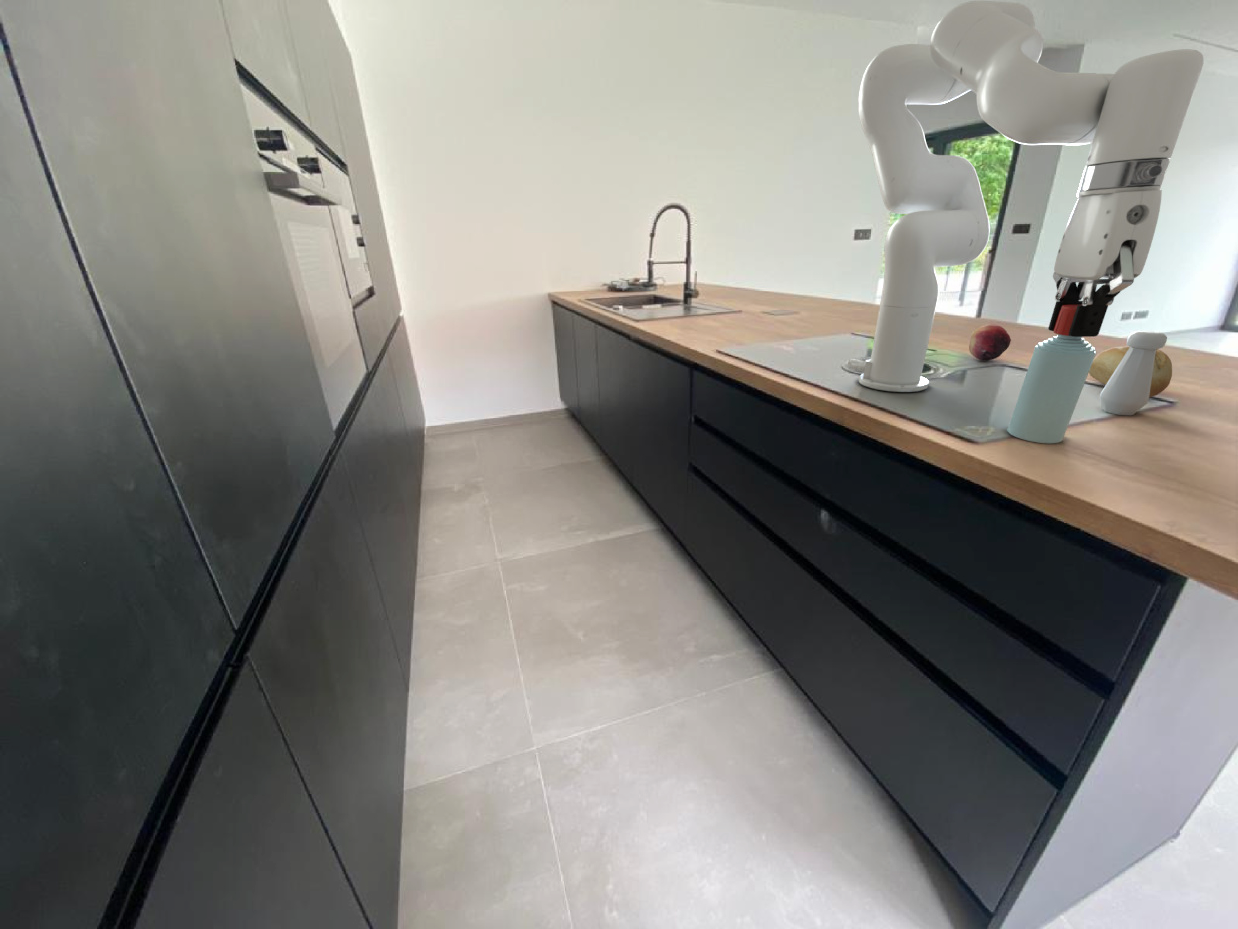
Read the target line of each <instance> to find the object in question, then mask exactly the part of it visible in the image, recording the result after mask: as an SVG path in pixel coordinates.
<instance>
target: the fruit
mask: <svg viewBox="0 0 1238 929" xmlns="http://www.w3.org/2000/svg"><path fill="white" fill-rule="evenodd" d="M1011 342H1012V339H1011V336H1010V334H1009V333H1008V331H1007V330H1006V329H1005V328H1004V327H1003V326H1001V325H998V324H985V325H982V326H980V327H978V328H976V329H975V330H973V331H972V332H971V335H970V339H969V344H968V350H969V353H970V354H971V355H972V356H973V357H974V358H975V359H977V360H980V361H982V362H983V361H984V362H988V361H992V360H995V359H998V358H999V357H1000V356H1002V355H1003V354H1004V352H1005V351H1007V350H1008V349H1009V347H1010V345H1011Z"/></svg>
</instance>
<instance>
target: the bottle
mask: <svg viewBox="0 0 1238 929" xmlns="http://www.w3.org/2000/svg"><path fill="white" fill-rule="evenodd" d="M1096 356H1097V350H1096V348H1095V347H1094V346H1093V345H1092V344H1091V343H1089V341H1087V340H1086V339H1085V337H1072V336H1065V335H1059V334H1057V335H1054V336H1053V337H1049V338H1048V339H1046V340H1043V341H1041V342H1038V344H1036V345H1035V346H1034V349H1033V352H1032V355H1031V358H1030V360H1029V361H1030V362H1029V364H1028V368H1027V370H1026V373H1025V377H1024V379H1023V383H1022V386H1021V389H1020V392H1019V395H1018V398H1017V400H1016V404H1015V406H1014V409H1013V413H1012V416H1011V418H1010V421H1009V424H1008V428H1007V432H1008V433H1009V435H1011V436H1012V437H1015V438H1017V439H1020V440H1024V441H1027V442H1031V443H1038V444H1059V443H1061V442H1062V441H1063V440H1064V437H1065V435H1066V432H1067V430H1068V427H1069V424H1070V422H1071V419H1072V416H1073V414H1074V411H1075V409H1076V407H1077V404H1078V401H1079V399H1080V396H1081V393H1082V391H1083V388H1084V386H1085V383H1086V381H1087V379H1088V376H1089V370H1090V368H1091V365H1092V363H1093V360H1094V358H1095V357H1096Z"/></svg>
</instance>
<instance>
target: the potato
mask: <svg viewBox="0 0 1238 929" xmlns="http://www.w3.org/2000/svg"><path fill="white" fill-rule="evenodd" d="M1129 348H1130V346H1127V345H1124V346H1118V347H1116V346H1115V347H1114V346H1113V347H1111V348H1108V349H1105V350H1102V351H1101V352H1099V353H1098V354H1096V355H1095V357H1094V360H1093V363H1092V365H1091V368H1090V370H1089V373H1088V375H1090V377H1091V378H1092V379H1095V380H1096V381H1098V382H1100V383H1102V384H1103V385H1104V386H1106V384H1107V382H1108V381H1109V379H1110V378H1111V376H1112V375H1113V373H1114V371H1115V370H1116V368H1117V367H1118V365H1119V363H1120V362H1121V360H1122V359H1123V357H1124V356H1125V354H1126V352H1127V351H1128V349H1129ZM1172 377H1173V363H1172V359H1171V358H1170V357H1169V355H1168V354H1166V353H1165V352H1163V351H1162V350H1160V349H1156V354H1155V360H1154V366H1153V373H1152V380H1151V387H1150V395H1149V398H1153V397H1156V396H1158V395H1160V394H1161V393H1162V392H1163V391H1165V390H1166V389H1167V388H1168V386H1169V385H1170V384H1171V380H1172Z"/></svg>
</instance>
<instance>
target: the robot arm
mask: <svg viewBox="0 0 1238 929" xmlns="http://www.w3.org/2000/svg"><path fill="white" fill-rule="evenodd" d="M1035 26H1036V23H1035V16H1034V14H1033V12H1032V10H1031V9H1030V8H1029V7H1028V6H1026V5H1025V4H1022V3H1019V2H1010V1H994V0H971V1H965V2H963V3H960V4H957V5H956V6H955V7H953V8H952V9H950V10H948V11H947V13H945V14H944V15H943V16H942V17H941V18H940V19H939V21H938V23H937V24H936V26H935V27H934V30H933V31H932V33H931V37H930V42H929V44H923V43H922V44H921V43H907V44H899V45H893V46H891V47H888V48H885V49H883V50H882V51H880V52H878V53H877V54H876V55H875V56H874V57H873V59H872V60H871V61H870V62H869V64H868V65H867V67H866V69H865V71H864V73H863V76H862V79H861V83H860V86H859V92H858V116H859V122H860V125H861V128H862V131H863V134H864V137H865V139H866V141H867V144H868V146H869V148H870V152H871V155H872V159H873V164H874V170H875V173H876V177H877V178H876V179H877V181H878V187H879V190H880V194H881V198H882V202H883V205H884V207H885V208H886V210H887V211H889V212H890V213H892V214H899V215H902V216H900V217H899V218H898V219H897V220H895V221H894V222H893V223H892V224H891V226H890V227H889V229H888V231H887V233H886V235H885V239H884V246H883V251H884V252H883V256H884V257H883V258H884V274H883V282H882V283H883V284H882V292H881V297H880V303H879V309H878V315H877V320H876V327H875V333H874V338H873V344H872V348H871V354H870V355H871V357H870V358H869V359H865V360H861V359H860V360H859V359H854V358H850V359H849V360H848V362H847V368H848V369H850V370H851V371H860V372H861V374H860V375H859V377H858V382H859V384H861V385H862V386H864V387H867V388H870V389H873V390H877V391H878V390H879V391H882V392H883V391H885V392H892V393H914V392H920V391H921V392H922V391H924V390H926V389H928V388H929V384H930V381H929V380H928V379H927V378H925V377H924V376H922V374H923V369H924V365H925V361H926V357H927V356H926V355H927V352H928V346H929V344H930V338H931V333H932V328H933V325H934V321H935V320H934V319H935V317H936V316H935V315H936V310H937V307H938V301H939V295H940V285H939V279H938V276H937V273H936V269H935V268H941V267H957V266H963V265H967V264H969V263H971V262H973V261H975V260H976V259H978V258H979V257H980V255H982V254H983V252H984V251H985V249H986V247H987V245H988V243H989V239H990V231H991V230H990V229H991V226H990V219H989V215H988V211H987V207H986V202H985V199H984V195H983V191H982V188H981V183H980V180H979V179H980V178H979V176H978V173H977V170H976V168H975V166H974V165H973V164H972V163H971V161H970V160H968V159H967V158H966V157H963V156H961V155H956V154H955V155H954V154H935V153H933V152H931V150H930V149H929V147H928V144H927V141H926V137H925V132H924V129H923V127H922V124H921V122H920V121H919V120H918V119H917V117H916V116H915V115H914V114H913V113H912V112H911V111H910V110H909V108H908V107H907V105H911V106H912V105H918V106H919V105H925V106H927V105H929V106H935V105H943V104H946V103H948V102H951V101H953V100H955V99H958V98H959V97H961V96H963V95H965V94H967V93H968V92H970V91H972V92H973V93H974V94H975V95H976V107H977V112H978V114H979V116H980V118H981V119H982V120H983V121H984V123H986V124H987V125H989V126H990V127H991V128H993V129H994V130H995V131H997V132H998V133H1000V135H1002V136H1004V137H1005V138H1007V139H1008V140H1010V141H1013V142H1014V143H1017V144H1021V145H1027V146H1041V145H1043V146H1044V145H1046V146H1047V145H1049V146H1050V145H1059V146H1082V145H1083V146H1084V145H1090V150H1089V153H1088V156H1087V160H1086V162H1085V163H1086V164H1085V166H1084V170H1083V173H1082V177H1081V179H1080V183H1079V187H1078V190H1077V193H1076V197H1077V198H1078V199H1077V201H1076V203H1075V205H1074V207H1073V210H1072V212H1071V214H1070V217H1069V219H1068V222H1067V224H1066V226H1065V227H1066V228H1065V230H1064V233H1063V235H1062V238H1061V242H1060V244H1059V248H1058V251H1057V255H1056V258H1055V262H1054V267H1053V274H1052V278H1053V280H1054V282H1055V286H1056V293H1055V295H1054V300H1055V304H1054V307H1053V311H1052V314H1051V317H1050V321H1049V324H1048V329H1047V330H1048V331H1050V332H1054V331H1053V330H1054V327H1055V324H1056V321H1057V318H1058V315H1059V312H1060V310H1061V308H1062V306H1063V305H1077V309H1076V312H1075V315H1074V318H1073V321H1072V324H1071V327H1070V331H1069V336H1072V337H1082V338H1086V337H1087V338H1088V337H1089V338H1091V337H1093V338H1094V337H1097V336H1099V334H1100V331H1101V329H1102V325H1103V322H1104V320H1105V317H1106V314H1107V310H1108V308H1109V306H1111V305H1112V304H1113V303H1114V300H1115V298H1116V297H1117V296H1118V295H1120V294H1121V292H1122V291H1124V290H1125V289H1127V288H1129V287H1130V286H1132V285H1134V284H1133V283H1134V282H1135V279H1137V278H1138V277H1139V276H1140V275H1141V274H1142V273H1143V271H1144V268H1145V265H1146V263H1147V259H1148V257H1149V253H1150V250H1151V247H1152V243H1153V240H1154V236H1155V233H1156V229H1157V224H1158V221H1159V216H1160V211H1161V204H1162V195H1163V194H1162V193H1163V190H1162V188H1161V187H1162V185H1163V182H1164V179H1165V176H1166V173H1167V171H1168V168H1169V165H1170V161H1171V158H1172V156H1173V154H1174V150H1175V148H1176V144H1177V142H1178V139H1179V136H1180V133H1181V130H1182V128H1183V125H1184V122H1185V119H1186V116H1187V113H1188V110H1189V108H1190V104H1191V102H1192V98H1193V96H1194V93H1195V90H1196V87H1197V84H1198V82H1199V79H1200V76H1201V73H1202V71H1203V66H1204V54H1203V53H1202V52H1201V51H1199V50H1197V49H1190V48H1183V49H1173V50H1167V51H1160V52H1155V53H1151V54H1147V55H1143V56H1140V57H1137V58H1134V59H1132V60H1130V61H1128V62H1126V63H1125V64H1123V65H1121V66H1120V67H1119V68H1118V69H1117V70H1116V71H1115V72H1114V73H1096V72H1074V71H1073V72H1071V71H1070V72H1062V71H1061V72H1060V71H1057V70H1056V71H1055V70H1053V69H1051V68H1048V67H1047V66H1044V65H1043V64H1040V62H1039V61H1040V58H1041V56H1042V53H1043V49H1044V48H1043V47H1044V38H1043V35H1042V34H1041V31H1039V30H1038V29H1036V28H1035ZM1098 286H1100V287H1099V288H1097V287H1098Z"/></svg>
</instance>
